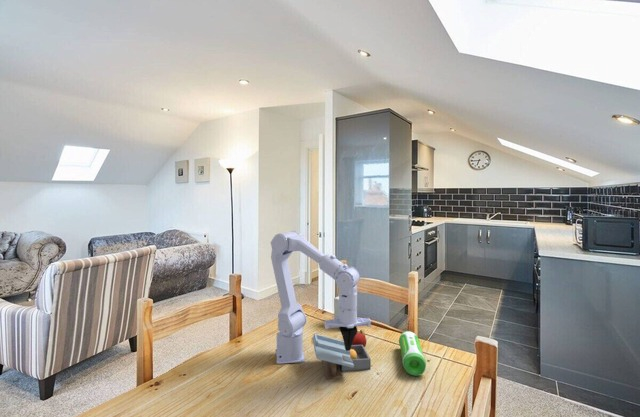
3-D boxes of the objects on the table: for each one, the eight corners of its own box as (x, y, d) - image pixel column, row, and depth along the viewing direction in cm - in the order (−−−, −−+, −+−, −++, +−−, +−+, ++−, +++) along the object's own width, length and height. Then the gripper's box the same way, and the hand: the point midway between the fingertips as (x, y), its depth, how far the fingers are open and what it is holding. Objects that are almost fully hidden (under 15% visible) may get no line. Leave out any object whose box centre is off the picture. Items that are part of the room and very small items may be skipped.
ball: (354, 366, 100) (344, 361, 99) (352, 359, 104) (342, 355, 103) (360, 355, 100) (350, 350, 99) (357, 349, 104) (347, 344, 103)
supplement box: (357, 326, 130) (357, 297, 129) (346, 331, 125) (346, 301, 124) (344, 321, 135) (344, 293, 135) (333, 326, 130) (333, 297, 129)
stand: (326, 379, 92) (326, 363, 92) (322, 361, 102) (322, 347, 102) (342, 377, 93) (342, 362, 93) (336, 360, 103) (336, 346, 103)
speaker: (398, 348, 111) (398, 328, 111) (418, 350, 110) (418, 330, 110) (402, 376, 94) (403, 353, 94) (426, 379, 93) (427, 355, 93)
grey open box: (342, 371, 96) (342, 361, 96) (336, 355, 106) (336, 346, 106) (370, 369, 98) (370, 359, 97) (362, 354, 107) (362, 344, 107)
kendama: (340, 334, 125) (347, 350, 107) (343, 319, 126) (350, 332, 108) (358, 337, 126) (368, 354, 108) (361, 322, 126) (371, 336, 108)
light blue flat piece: (316, 358, 90) (318, 351, 90) (312, 338, 103) (314, 332, 103) (353, 367, 92) (355, 360, 92) (344, 347, 104) (346, 340, 104)
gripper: (327, 312, 89) (326, 357, 89) (374, 310, 91) (373, 354, 91) (323, 304, 96) (323, 345, 96) (367, 302, 98) (366, 342, 98)
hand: (347, 349), depth 94 cm, fingers closed
